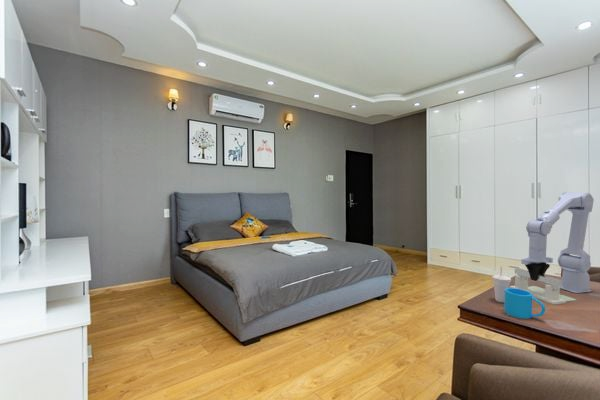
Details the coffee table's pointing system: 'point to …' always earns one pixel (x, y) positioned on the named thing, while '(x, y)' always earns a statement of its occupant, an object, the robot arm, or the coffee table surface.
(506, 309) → the mug
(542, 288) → the mat
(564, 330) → the coffee table surface
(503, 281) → the smoothie
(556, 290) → the rack
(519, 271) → the rail
